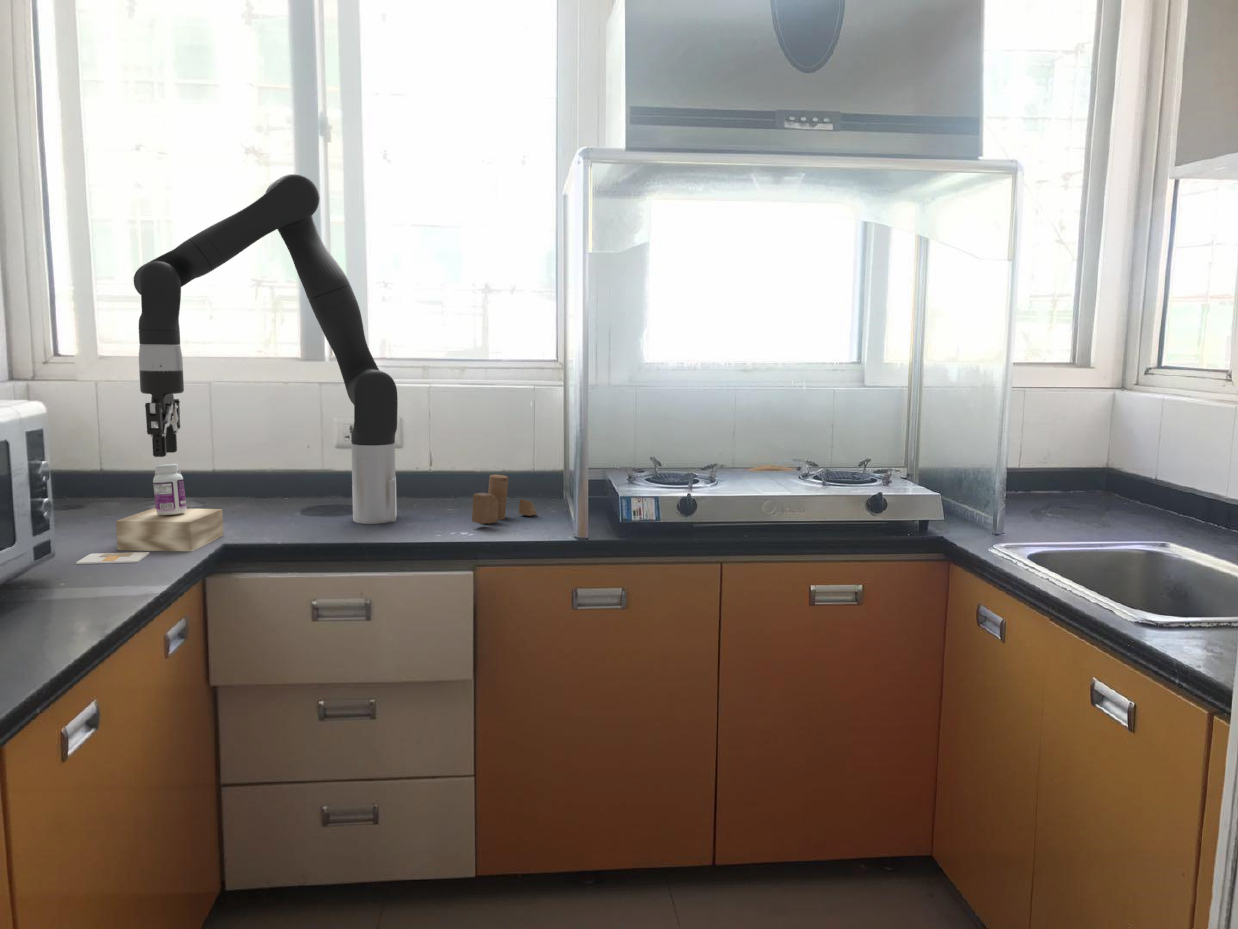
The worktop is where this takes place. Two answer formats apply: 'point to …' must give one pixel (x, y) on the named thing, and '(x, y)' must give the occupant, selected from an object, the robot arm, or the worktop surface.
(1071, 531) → the worktop surface
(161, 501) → the pill bottle
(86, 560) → the card
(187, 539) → the birch block
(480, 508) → the wooden block set
